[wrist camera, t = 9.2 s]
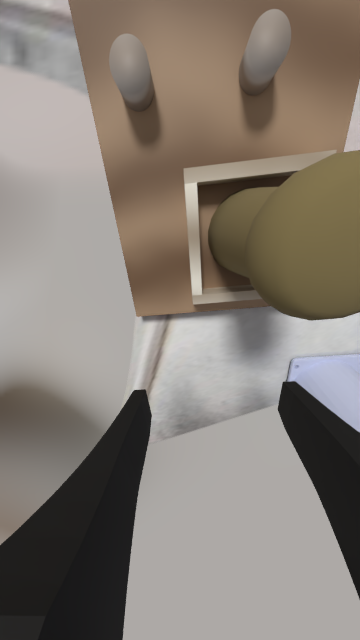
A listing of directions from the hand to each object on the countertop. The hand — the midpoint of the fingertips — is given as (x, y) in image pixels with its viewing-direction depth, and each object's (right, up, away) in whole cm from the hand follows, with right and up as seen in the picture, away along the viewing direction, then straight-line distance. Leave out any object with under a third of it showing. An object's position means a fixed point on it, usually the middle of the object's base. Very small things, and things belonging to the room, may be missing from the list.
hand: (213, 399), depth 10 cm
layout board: (+1, +15, +4) cm, 15 cm away
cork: (+3, +11, +5) cm, 13 cm away
